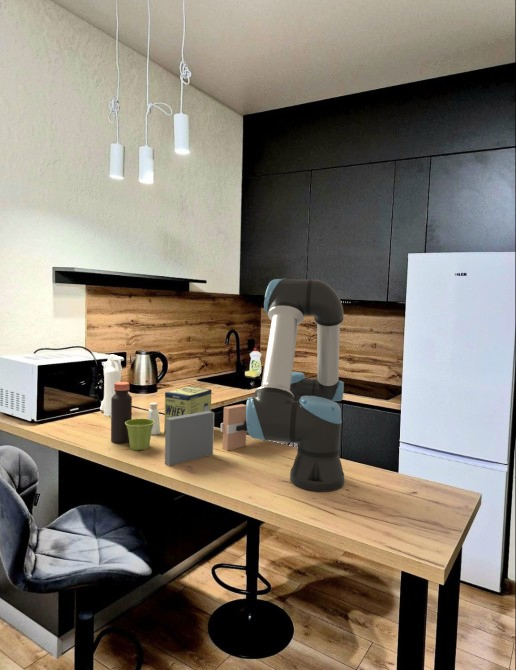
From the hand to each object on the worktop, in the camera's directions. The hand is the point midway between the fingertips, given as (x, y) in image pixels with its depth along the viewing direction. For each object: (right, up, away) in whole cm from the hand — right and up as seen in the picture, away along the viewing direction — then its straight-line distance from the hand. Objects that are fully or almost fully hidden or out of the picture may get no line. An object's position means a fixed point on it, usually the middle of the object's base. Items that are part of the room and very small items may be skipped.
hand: (224, 428), depth 157 cm
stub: (+3, -7, +4) cm, 8 cm away
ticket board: (-10, -8, -9) cm, 16 cm away
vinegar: (-36, -6, +8) cm, 37 cm away
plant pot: (-28, -7, +1) cm, 29 cm away
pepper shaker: (-27, -5, +18) cm, 33 cm away
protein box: (-15, -6, +21) cm, 27 cm away
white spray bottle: (-50, -2, +42) cm, 66 cm away
